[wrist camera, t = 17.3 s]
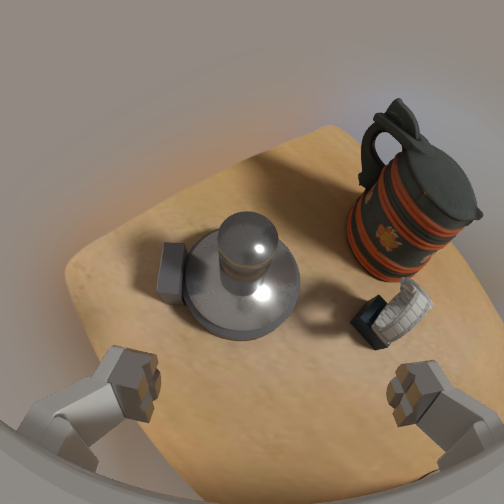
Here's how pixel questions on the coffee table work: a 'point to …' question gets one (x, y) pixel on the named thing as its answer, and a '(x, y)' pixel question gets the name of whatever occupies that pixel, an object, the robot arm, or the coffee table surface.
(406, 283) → the watch
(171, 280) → the scale
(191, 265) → the pan
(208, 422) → the coffee table surface
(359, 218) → the beer stein
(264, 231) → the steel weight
